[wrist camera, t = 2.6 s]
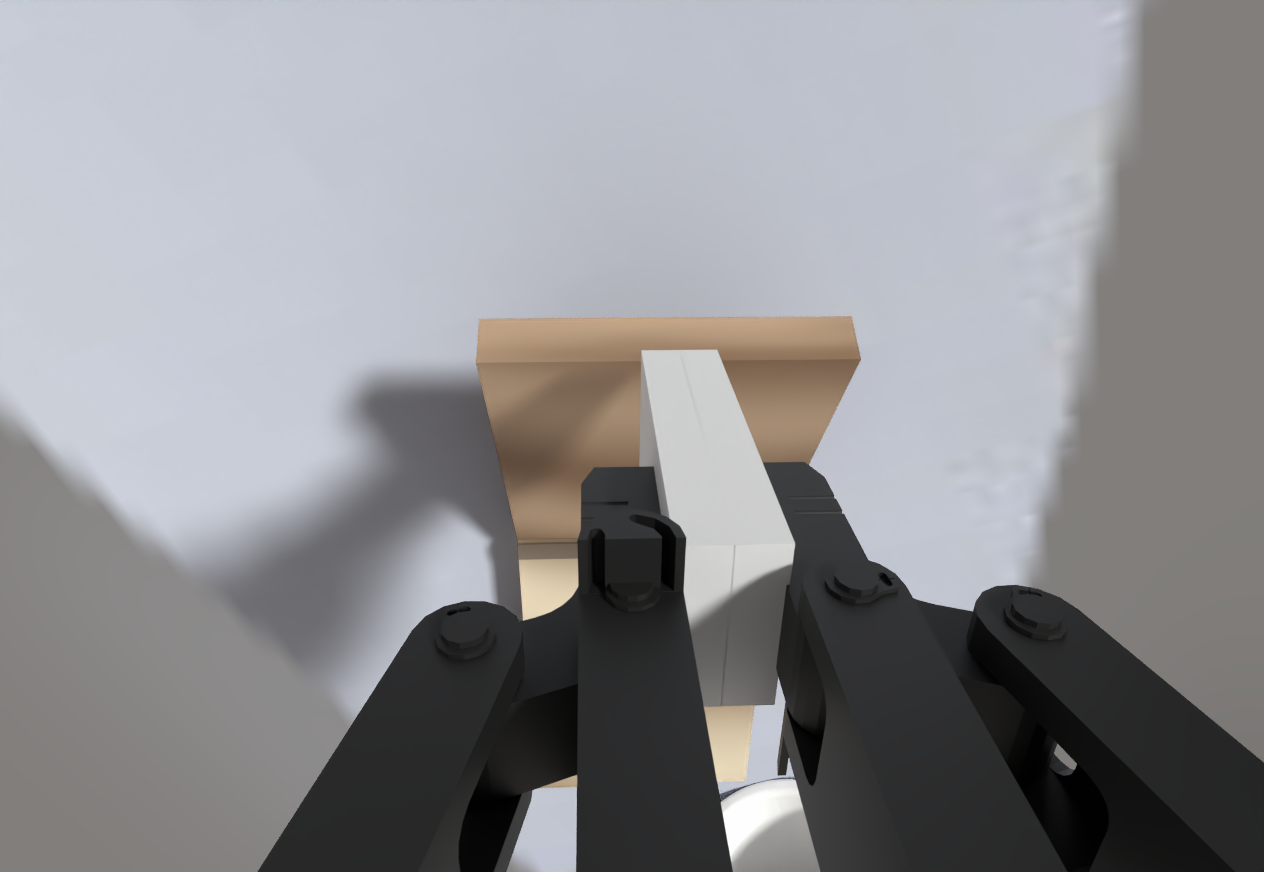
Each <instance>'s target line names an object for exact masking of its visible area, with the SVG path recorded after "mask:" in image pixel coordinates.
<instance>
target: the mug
mask: <svg viewBox="0 0 1264 872" xmlns="http://www.w3.org/2000/svg"><path fill="white" fill-rule="evenodd" d="M721 807H722V812H723V818H724V824H725V829H726V835H727V841H728V846H729V852H730V858H731V864H732V869H733V872H820V868H819V864H818V861H817V857H816V853H815V850H814V846H813V842H812V839H811V835H810V831H809V828H808V824H807V821H806V817H805V813H804V810H803V806H802V802H801V799H800V795H799V791H798V788H797V784H796V780H795V779H777V780H769V781H763V782H759V783H756V784H753V785H750V786H747V787H745V788H743V789H741V790H739V791H737V792H735V793H733V794H732V795H730V796H728V797H727V798H726V799H724V800H723V801H722V802H721Z"/></svg>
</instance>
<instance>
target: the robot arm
mask: <svg viewBox="0 0 1264 872" xmlns="http://www.w3.org/2000/svg"><path fill="white" fill-rule="evenodd" d="M577 546H578V588H577V590H576V591H575V593H574V594H573V596H572V597H571V598H570V599H569V600H568V601H567V602H566V603H565V604H563V605H562V606H560V607H558V608H557V609H555V610H553V611H552V612H549V613H547V614H544V615H541V616H538V617H535V618H531V619H527V620H524V621H520V622H519V621H518V619H517V616H515V615H514V614H513V613H511V612H510V611H509V610H507V609H506V608H505V607H503V606H499V605H496V604H492V603H489V602H485V601H464V602H460V603H456V604H452V605H448V606H444V607H442V608H440V609H438V610H436V611H435V612H433V613H431V614H429V615H427V616H425V617H424V618H423V620H422V621H421V622H420V623H419V624H418V625H417V626H416V627H415V628H414V629H413V630H412V632H411V633H410V635H409V636H408V638H407V639H406V641H405V642H404V644H403V646H402V647H401V649H400V650H399V652H398V653H397V655H396V656H395V658H394V660H393V661H392V663H391V664H390V666H389V667H388V669H387V671H386V672H385V674H384V675H383V677H382V678H381V680H380V681H379V683H378V685H377V686H376V688H375V689H374V691H373V692H372V694H371V695H370V697H369V699H368V700H367V702H366V703H365V705H364V706H363V708H362V710H361V711H360V713H359V714H358V716H357V717H356V719H355V720H354V722H353V724H352V725H351V727H350V728H349V730H348V732H347V733H346V735H345V736H344V738H343V739H342V741H341V742H340V744H339V746H338V747H337V749H336V750H335V752H334V753H333V755H332V756H331V758H330V759H329V761H328V763H327V764H326V766H325V767H324V769H323V770H322V772H321V774H320V775H319V777H318V778H317V780H316V781H315V783H314V785H313V786H312V788H311V789H310V791H309V792H308V794H307V795H306V797H305V798H304V800H303V802H302V803H301V805H300V806H299V808H298V809H297V811H296V813H295V814H294V816H293V817H292V819H291V820H290V822H289V823H288V825H287V827H286V828H285V830H284V831H283V833H282V834H281V836H280V837H279V839H278V841H277V842H276V844H275V845H274V847H273V848H272V850H271V852H270V853H269V855H268V856H267V858H266V859H265V861H264V863H263V864H262V866H261V867H260V869H259V870H258V872H506V871H507V868H508V865H509V862H510V859H511V856H512V854H513V851H514V848H515V845H516V842H517V839H518V836H519V833H520V831H521V828H522V825H523V822H524V819H525V816H526V813H527V810H528V807H529V805H530V802H531V797H532V790H534V789H537V788H540V787H543V786H546V785H549V784H552V783H555V782H558V781H560V780H563V779H566V778H569V777H572V776H575V775H577V856H576V872H733V869H732V864H731V858H730V852H729V846H728V841H727V835H726V829H725V824H724V818H723V812H722V807H721V801H720V795H719V790H718V784H717V778H716V773H715V767H714V761H713V756H712V750H711V744H710V739H709V733H708V727H707V722H706V716H705V710H704V707H717V706H748V705H774V704H775V697H776V689H777V681H778V677H779V680H780V684H781V687H782V690H783V694H784V697H785V701H786V703H785V710H784V717H783V725H782V732H781V739H780V746H779V754H778V761H777V763H778V775H786V771H787V764H788V758H790V762H791V766H792V769H793V773H794V777H795V780H796V784H797V788H798V791H799V795H800V799H801V802H802V806H803V810H804V813H805V817H806V821H807V824H808V828H809V831H810V835H811V839H812V842H813V846H814V850H815V853H816V857H817V861H818V864H819V868H820V872H1264V763H1263V762H1262V761H1261V760H1260V759H1259V758H1257V757H1256V756H1255V755H1254V754H1253V753H1251V752H1250V751H1249V750H1248V749H1247V748H1245V747H1244V746H1243V745H1242V744H1241V743H1239V742H1238V741H1237V740H1236V739H1234V738H1233V737H1232V736H1231V735H1230V734H1228V733H1227V732H1226V731H1225V730H1224V729H1222V728H1221V727H1220V726H1218V724H1216V723H1215V722H1214V721H1213V720H1211V719H1210V718H1209V717H1208V716H1206V715H1205V714H1204V713H1203V712H1202V711H1201V710H1199V709H1198V708H1197V707H1196V706H1194V705H1193V704H1192V703H1191V702H1190V701H1189V700H1187V699H1186V698H1185V697H1184V696H1182V695H1181V694H1180V693H1179V692H1178V691H1176V690H1175V689H1174V688H1173V687H1172V686H1170V685H1169V684H1168V683H1167V682H1166V681H1164V680H1163V679H1162V678H1161V677H1159V676H1158V675H1157V674H1156V673H1155V672H1153V671H1152V670H1151V669H1150V668H1148V667H1147V666H1146V665H1145V664H1143V662H1141V661H1140V660H1139V659H1138V658H1136V657H1135V656H1134V655H1133V654H1132V653H1130V652H1129V651H1128V650H1127V649H1126V648H1124V647H1123V646H1122V645H1121V644H1120V643H1118V642H1117V641H1116V640H1115V639H1113V638H1112V637H1111V636H1110V635H1109V634H1107V633H1106V632H1105V631H1104V630H1102V629H1101V628H1100V627H1099V626H1098V625H1097V624H1095V623H1094V622H1093V621H1092V620H1091V619H1089V618H1088V617H1087V616H1086V615H1084V614H1083V613H1082V612H1081V611H1080V610H1078V609H1077V608H1075V607H1074V606H1072V605H1071V604H1069V603H1067V602H1066V601H1064V600H1063V599H1061V598H1060V597H1057V596H1055V595H1052V594H1050V593H1047V592H1044V591H1042V590H1039V589H1035V588H1030V587H1024V586H1019V585H1007V586H996V587H993V588H991V589H988V590H986V591H984V592H982V594H981V595H980V597H979V598H978V599H977V601H976V603H975V607H974V610H973V612H972V611H967V610H961V609H956V608H951V607H945V606H940V605H935V604H931V603H927V602H923V601H919V600H916V599H914V598H913V597H912V596H911V594H910V592H909V590H908V589H907V587H906V585H905V584H904V583H903V582H902V581H901V580H900V578H899V577H898V576H897V575H896V574H895V573H893V572H892V571H890V570H888V569H887V568H885V567H884V566H882V565H880V564H878V563H875V562H872V561H869V560H868V559H867V557H866V555H865V553H864V551H863V549H862V547H861V545H860V543H859V542H858V540H857V538H856V536H855V534H854V532H853V530H852V528H851V526H850V524H849V523H848V521H847V519H846V517H845V515H844V514H842V509H841V507H840V505H839V504H838V502H837V500H836V499H834V494H833V492H832V490H831V488H830V486H829V485H828V483H827V481H826V479H825V477H824V476H822V475H821V474H820V473H818V472H817V471H816V470H814V469H813V468H812V467H810V466H809V465H808V464H806V463H805V462H762V460H761V457H760V455H759V452H758V450H757V447H756V445H755V443H754V440H753V438H752V435H751V433H750V430H749V428H748V425H747V423H746V420H745V418H744V415H743V413H742V410H741V408H740V405H739V403H738V400H737V398H736V395H735V393H734V390H733V388H732V385H731V383H730V380H729V378H728V376H727V373H726V371H725V368H724V366H723V363H722V361H721V358H720V356H719V353H718V351H717V350H641V398H640V456H639V467H594V468H593V469H592V471H591V472H590V473H589V474H588V476H587V477H586V478H585V480H584V481H583V482H582V483H581V531H580V534H579V537H578V539H577ZM1057 743H1058V744H1059V745H1060V746H1061V747H1062V748H1063V749H1064V750H1065V751H1066V753H1067V754H1068V755H1070V757H1071V758H1072V759H1073V760H1074V761H1075V762H1076V763H1077V766H1076V769H1075V770H1072V769H1070V768H1068V767H1067V766H1066V765H1065V764H1063V763H1062V762H1061V761H1060V760H1059V759H1058V758H1057V757H1056V756H1055V754H1054V751H1055V748H1056V746H1057Z"/></svg>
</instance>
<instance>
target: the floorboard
mask: <svg viewBox="0 0 1264 872" xmlns="http://www.w3.org/2000/svg"><path fill="white" fill-rule="evenodd" d="M577 539H578V538H555V539H518V543H517V548H518V560H519V570H520V584H521V599H522V613H523V621H524V620H527V619H531V618H535V617H538V616H541V615H544V614H547V613H549V612H552V611H553V610H555V609H557V608H558V607H560V606H562V605H563V604H565V603H566V602H567V601H568V600H569V599H570V598H571V597H572V596H573V594H574V593H575V591H576V590H577V588H578V546H577ZM704 710H705V716H706V722H707V727H708V733H709V739H710V744H711V750H712V756H713V761H714V767H715V773H716V778H717V782H723V781H746V774H747V765H748V756H749V748H750V739H751V731H752V722H753V714H754V705H748V706H717V707H704ZM555 787H577V775H575V776H572V777H569V778H566V779H563V780H560V781H558V782H555V783H552V784H549V785H546V786H543V787H540V788H555Z"/></svg>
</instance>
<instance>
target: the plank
mask: <svg viewBox="0 0 1264 872" xmlns="http://www.w3.org/2000/svg"><path fill="white" fill-rule="evenodd" d="M641 350H717V351H718V353H719V356H720V358H721V361H722V363H723V366H724V368H725V371H726V373H727V376H728V378H729V380H730V383H731V385H732V388H733V390H734V393H735V395H736V398H737V400H738V403H739V405H740V408H741V410H742V413H743V415H744V418H745V420H746V423H747V425H748V428H749V430H750V433H751V435H752V438H753V440H754V443H755V445H756V447H757V450H758V452H759V455H760V457H761V460H762V462H805V463H806V464H808V465H809V463H810V461H811V459H812V457H813V455H814V453H815V451H816V449H817V447H818V445H819V443H820V441H821V439H822V437H823V435H824V433H825V431H826V429H827V427H828V425H829V423H830V421H831V419H832V417H833V415H834V413H835V410H836V408H837V406H838V404H839V402H840V400H841V398H842V396H843V394H844V392H845V390H846V388H847V386H848V384H849V382H850V380H851V378H852V376H853V374H854V372H855V370H856V368H857V366H858V364H859V362H860V360H861V357H860V353H859V348H858V344H857V339H856V335H855V330H854V326H853V321H852V317H851V316H848V317H695V318H541V319H479V330H478V343H477V356H476V365H477V369H478V373H479V377H480V382H481V386H482V390H483V395H484V399H485V403H486V407H487V412H488V416H489V420H490V424H491V429H492V433H493V437H494V441H495V446H496V450H497V454H498V459H499V463H500V467H501V471H502V476H503V480H504V484H505V488H506V493H507V497H508V501H509V505H510V510H511V514H512V518H513V523H514V527H515V531H516V535H517V539H555V538H578V537H579V534H580V531H581V483H582V482H583V481H584V480H585V478H586V477H587V476H588V474H589V473H590V472H591V471H592V469H593V468H594V467H639V456H640V398H641Z"/></svg>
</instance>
